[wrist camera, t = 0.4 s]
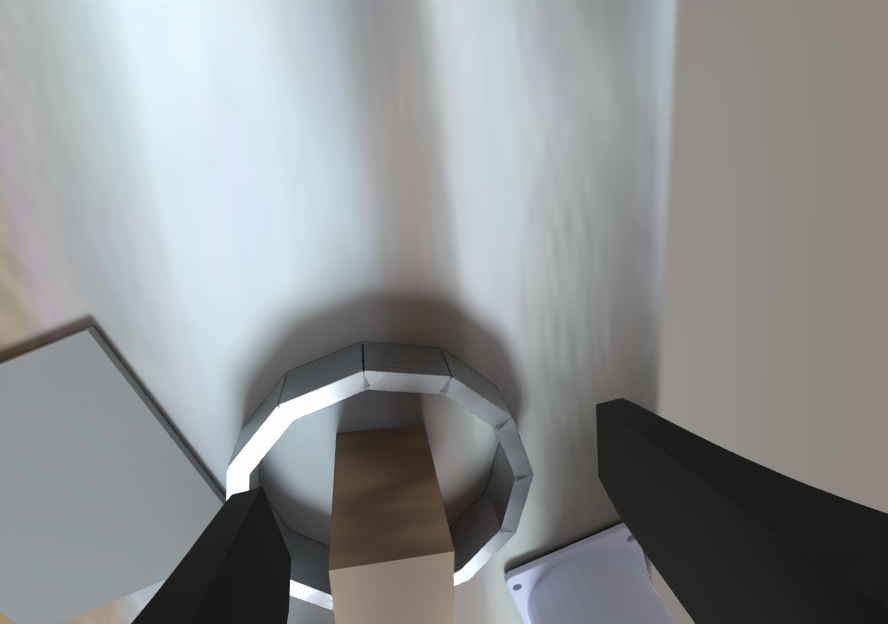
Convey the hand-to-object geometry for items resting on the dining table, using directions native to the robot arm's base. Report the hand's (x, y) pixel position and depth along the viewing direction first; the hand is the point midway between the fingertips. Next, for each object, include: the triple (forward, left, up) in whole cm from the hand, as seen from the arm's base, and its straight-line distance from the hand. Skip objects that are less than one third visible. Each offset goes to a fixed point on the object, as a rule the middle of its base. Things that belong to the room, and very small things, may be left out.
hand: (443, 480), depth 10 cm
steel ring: (-7, +4, -10) cm, 13 cm away
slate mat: (-2, +16, -10) cm, 19 cm away
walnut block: (-7, +4, -10) cm, 13 cm away
